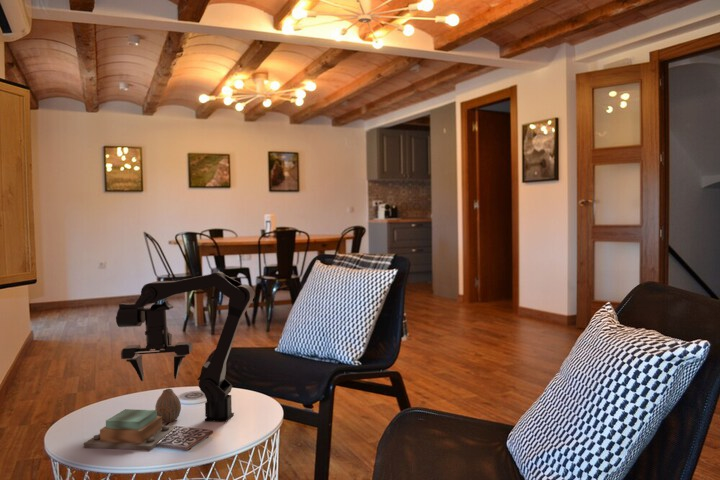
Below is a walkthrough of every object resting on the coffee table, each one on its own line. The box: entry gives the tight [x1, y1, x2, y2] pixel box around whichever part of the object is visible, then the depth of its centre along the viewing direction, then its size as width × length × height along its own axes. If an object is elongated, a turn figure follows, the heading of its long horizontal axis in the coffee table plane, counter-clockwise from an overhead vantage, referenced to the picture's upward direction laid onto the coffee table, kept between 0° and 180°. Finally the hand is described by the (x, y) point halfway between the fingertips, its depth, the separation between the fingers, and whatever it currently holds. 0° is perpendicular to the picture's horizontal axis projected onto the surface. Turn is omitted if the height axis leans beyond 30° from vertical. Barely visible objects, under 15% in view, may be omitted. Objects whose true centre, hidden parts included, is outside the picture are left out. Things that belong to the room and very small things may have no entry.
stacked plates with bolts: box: [83, 408, 178, 451], centre depth 146 cm, size 18×14×6 cm
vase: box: [154, 388, 182, 423], centre depth 160 cm, size 7×7×9 cm
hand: (159, 379), depth 161 cm, fingers open, 9 cm apart
